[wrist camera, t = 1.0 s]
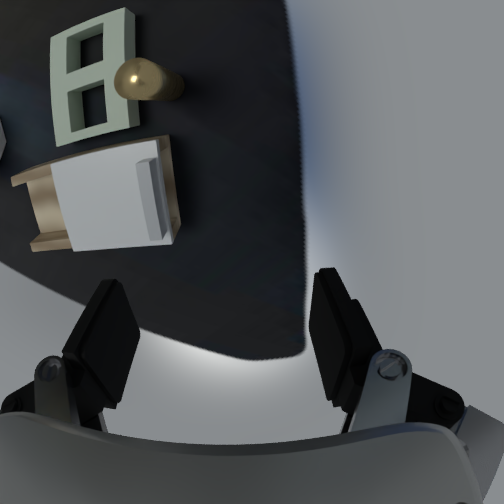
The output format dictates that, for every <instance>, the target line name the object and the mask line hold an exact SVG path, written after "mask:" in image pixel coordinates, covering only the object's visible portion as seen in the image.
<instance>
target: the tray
mask: <svg viewBox="0 0 504 504" xmlns="http://www.w3.org/2000/svg"><path fill="white" fill-rule="evenodd" d="M155 139H159V148H160V156H161V164H162V171H163V178H164V185H165V192H166V198H167V204H168V210H169V216H170V222H171V227H172V233H173V238H174V239H175V237H176V234H177V232H178V230H179V228H180V225H181V221H180V214H179V208H178V201H177V194H176V187H175V180H174V172H173V164H172V156H171V147H170V138H169V135H162V136H156V137H150V138H144V139H138V140H133V141H128V142H123V143H118V144H113V145H109V146H104V147H100V148H96V149H92V150H88V151H84V152H80V153H76V154H73V155H69V156H66V157H62V158H59V159H56V160H52V161H49V162H46V163H43V164H40V165H37V166H34V167H31V168H28V169H26V170H24V171H22V172H20V173H18V174H16V175H14V176H12V177H11V181H12V185H13V186H16V185H19V184H22V183H25V182H27V186H28V190H29V194H30V198H31V202H32V205H33V209H34V212H35V216H36V219H37V222H38V226H39V229H40V232H41V234H40V235H38V236H37V237H36V238H35V239H34V240H33V241H32V242H31V243H30V245H31V248H32V251H33V252H35V251H45V250H55V249H66V248H72V245H71V242H70V239H69V236H68V233H67V230H66V226H65V223H64V220H63V216H62V213H61V209H60V205H59V201H58V197H57V193H56V189H55V185H54V180H53V176H52V171H51V166H50V164H52V163H54V162H57V161H61V160H64V159H68V158H71V157H75V156H79V155H83V154H87V153H91V152H95V151H99V150H103V149H108V148H112V147H117V146H122V145H127V144H132V143H138V142H143V141H149V140H155Z"/></svg>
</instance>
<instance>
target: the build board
mask: <svg viewBox="0 0 504 504" xmlns="http://www.w3.org/2000/svg"><path fill="white" fill-rule="evenodd" d="M100 33H103V61H101V62H98V63H95V64H92V65H89V66H87V67H84V68H81V63H80V45H81V41H82V40H85V39H87V38H90V37H92V36H95V35H98V34H100ZM133 58H135V15H134V14H133V13H132V12H130V11H129V10H128V9H126V8H125V7H124V8H121V9H118V10H115V11H112V12H109V13H106V14H104V15H101V16H98V17H96V18H93V19H91V20H88V21H86V22H83V23H81V24H79V25H76V26H74V27H72V28H70V29H68V30H65V31H63V32H61V33H59V34H57V35H55V36H53V37H51V46H50V83H51V101H52V113H53V123H54V131H55V138H56V145H57V147H58V146H62V145H65V144H68V143H71V142H75V141H78V140H81V139H85V138H89V137H92V136H96V135H100V134H104V133H108V132H112V131H117V130H121V129H126V128H130V127H134V126H139V125H140V118H139V108H138V100H128V99H124V98H122V97H121V96H119V95H118V93H117V92H116V90H115V87H114V77H115V74H116V72H117V70H118V69H119V67H120V66H121V65H122V64H123V63H125V62H126V61H128V60H130V59H133ZM100 85H104V87H105V100H106V111H107V121H108V123H104V124H100V125H96V126H93V127H89V128H86V129H85V123H84V113H83V102H82V91H85V90H88V89H91V88H94V87H97V86H100Z"/></svg>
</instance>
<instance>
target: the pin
mask: <svg viewBox="0 0 504 504" xmlns="http://www.w3.org/2000/svg"><path fill="white" fill-rule="evenodd" d="M114 87H115V90H116V92H117V93H118V95H119V96H121V97H122V98H124V99H128V100H158V101H173V100H175V99H177V98H179V97H180V96H181V95H182V93H183V91H184V89H185V83H184V80H183V78H182V77H181V76H180V75H178V74H176V73H174V72H172V71H170V70H168V69H166V68H164V67H162V66H160V65H157V64H155V63H153V62H151V61H149V60H147V59H144V58H133V59H130V60H128V61H126V62H125V63H123V64H122V65H121V66H120V67H119V69H118V70H117V72H116V74H115V77H114Z"/></svg>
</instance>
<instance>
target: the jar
mask: <svg viewBox="0 0 504 504" xmlns="http://www.w3.org/2000/svg"><path fill="white" fill-rule="evenodd" d="M5 145H6V139H5V135H4V131H3V128H2V124H1V120H0V160H1V156H2V153H3V150H4V148H5Z"/></svg>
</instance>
